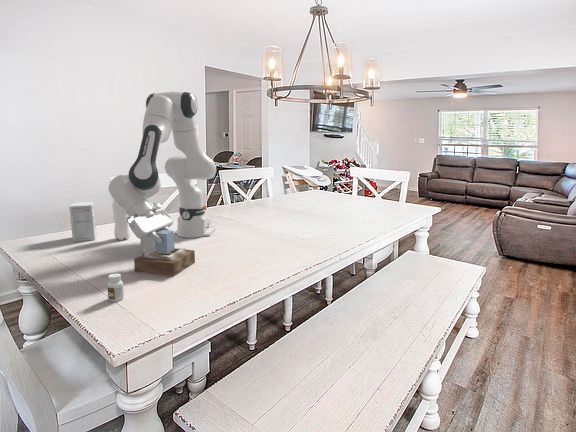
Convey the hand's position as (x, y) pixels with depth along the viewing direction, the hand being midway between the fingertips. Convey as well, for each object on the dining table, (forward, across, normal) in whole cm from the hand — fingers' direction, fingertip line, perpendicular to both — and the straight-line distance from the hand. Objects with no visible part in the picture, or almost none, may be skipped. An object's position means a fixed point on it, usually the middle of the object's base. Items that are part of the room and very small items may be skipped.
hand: (166, 239), depth 144 cm
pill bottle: (+8, -30, +8) cm, 32 cm away
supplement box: (-33, +23, +48) cm, 63 cm away
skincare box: (-5, +15, +20) cm, 26 cm away
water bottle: (-21, +28, +36) cm, 51 cm away
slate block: (+3, 0, +4) cm, 4 cm away
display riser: (+7, 0, +8) cm, 11 cm away
